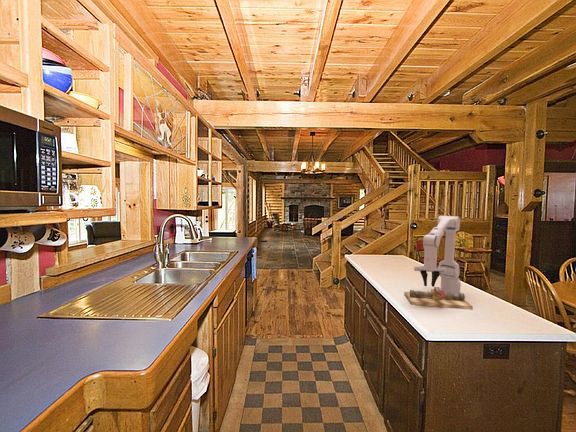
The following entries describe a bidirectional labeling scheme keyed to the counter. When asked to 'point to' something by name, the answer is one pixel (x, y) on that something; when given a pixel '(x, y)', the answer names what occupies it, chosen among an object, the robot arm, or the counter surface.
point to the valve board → (437, 299)
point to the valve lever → (439, 291)
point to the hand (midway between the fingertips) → (429, 286)
